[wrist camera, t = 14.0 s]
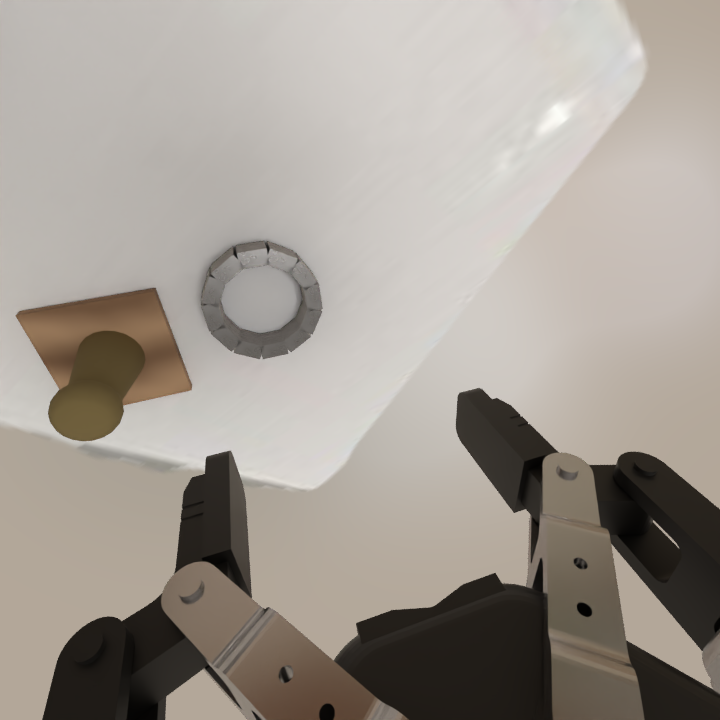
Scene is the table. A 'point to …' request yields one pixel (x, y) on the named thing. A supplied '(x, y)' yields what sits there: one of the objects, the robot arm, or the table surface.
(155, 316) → the walnut board
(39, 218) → the table surface
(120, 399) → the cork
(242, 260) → the metal collar
